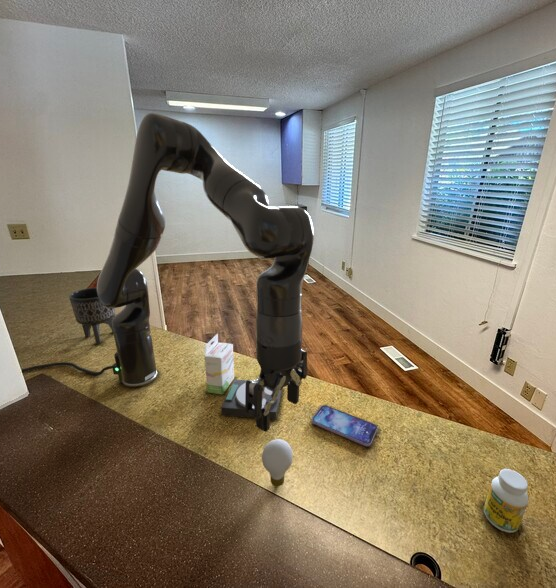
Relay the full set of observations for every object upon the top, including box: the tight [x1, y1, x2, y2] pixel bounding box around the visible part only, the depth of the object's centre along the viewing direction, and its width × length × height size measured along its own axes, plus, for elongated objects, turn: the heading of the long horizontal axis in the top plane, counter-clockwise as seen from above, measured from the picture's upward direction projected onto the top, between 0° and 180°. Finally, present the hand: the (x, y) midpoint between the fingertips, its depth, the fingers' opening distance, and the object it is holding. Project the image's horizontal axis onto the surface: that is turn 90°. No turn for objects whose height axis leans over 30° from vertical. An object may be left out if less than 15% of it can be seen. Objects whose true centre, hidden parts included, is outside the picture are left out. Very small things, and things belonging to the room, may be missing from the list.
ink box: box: [204, 333, 235, 395], centre depth 86 cm, size 9×5×15 cm, turn 168°
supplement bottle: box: [483, 468, 529, 533], centre depth 53 cm, size 5×5×10 cm
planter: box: [68, 287, 116, 346], centre depth 111 cm, size 13×13×18 cm
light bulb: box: [261, 438, 294, 488], centre depth 58 cm, size 6×6×10 cm
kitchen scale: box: [220, 378, 283, 421], centre depth 82 cm, size 14×12×3 cm
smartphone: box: [311, 404, 378, 447], centre depth 75 cm, size 7×1×15 cm
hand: (278, 414), depth 55 cm, fingers open, 8 cm apart
